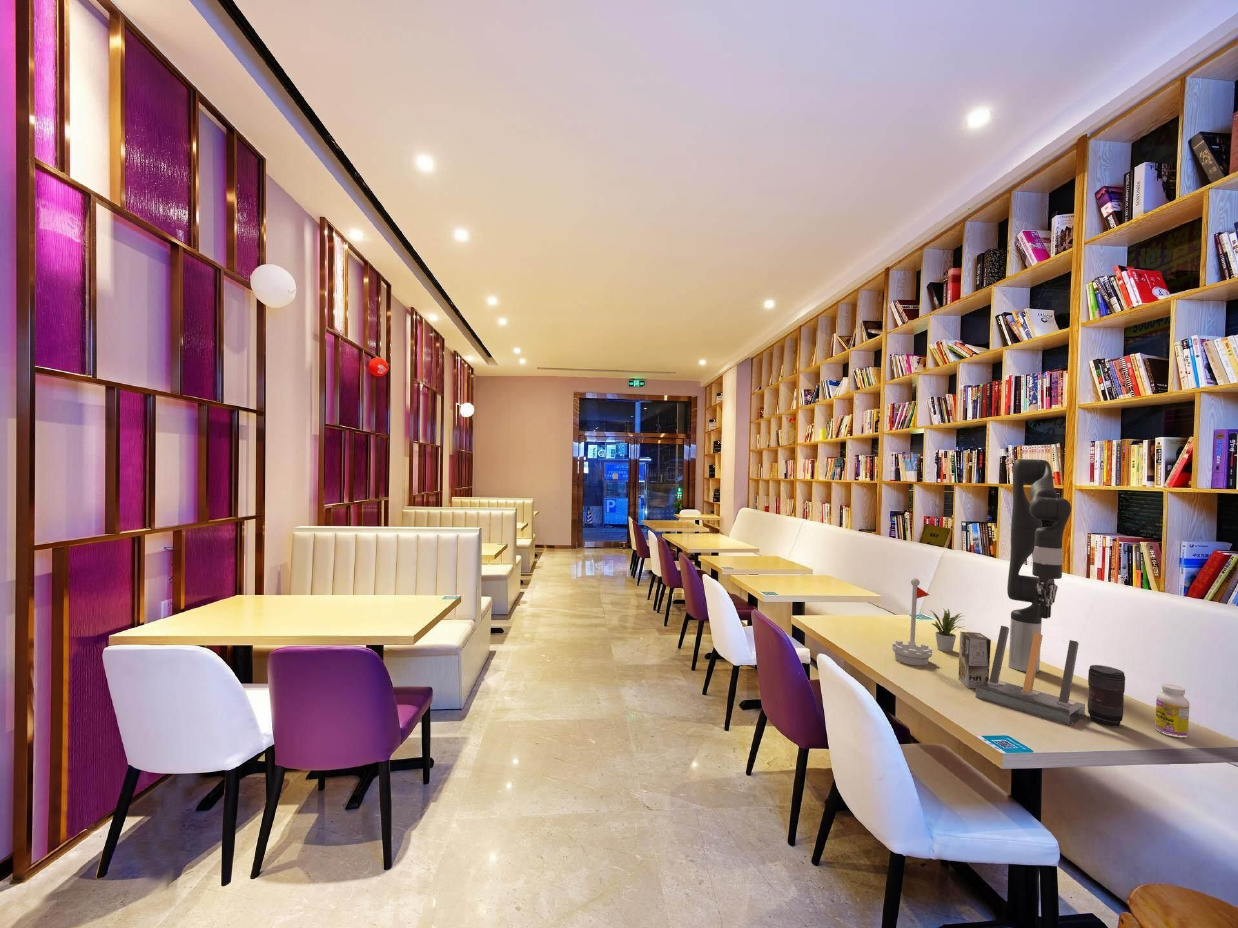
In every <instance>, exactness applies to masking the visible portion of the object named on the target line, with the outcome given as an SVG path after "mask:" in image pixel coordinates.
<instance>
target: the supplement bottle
mask: <svg viewBox="0 0 1238 928" xmlns="http://www.w3.org/2000/svg"><path fill="white" fill-rule="evenodd" d="M1161 690H1162V692H1159V693H1157V695H1156V700H1155V702H1156V703H1155V705H1156V706H1155V720H1154V721H1155V722H1154V729H1155V731H1157V730H1159V731H1160V732H1164V733H1166V734H1172V735H1177V736H1187V737H1188V736H1189V721H1190V720H1189V719H1190V717H1189V716H1190V701H1189V700H1188V699H1187V698H1186V697H1184V696H1185V694H1186V689H1185V688H1184V687H1183V686H1180V685H1176V684H1171V683H1163V684H1162V685H1161ZM1160 732H1159V733H1160Z"/></svg>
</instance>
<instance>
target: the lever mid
mask: <svg viewBox="0 0 1238 928" xmlns="http://www.w3.org/2000/svg"><path fill="white" fill-rule="evenodd" d="M1043 637H1044V636H1043V634H1042V633H1041V634H1039V633H1034V636H1033V641H1032V646H1031V651H1030V656H1029V661H1028V666H1027V671H1026V672H1025V677H1024V683H1023V686H1022V687H1023V690H1021V694H1022V695H1025V696H1029V697H1033V693H1032V690H1034V689H1033V687H1034V684H1035V678H1036V674H1037V672H1036V668H1037V663H1038V658H1039V652H1040V653H1041V647H1042V643H1043V642H1042V641H1043Z"/></svg>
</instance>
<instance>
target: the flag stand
mask: <svg viewBox="0 0 1238 928" xmlns="http://www.w3.org/2000/svg"><path fill="white" fill-rule="evenodd" d="M910 583H911V585H912V591H911V593H912V597H911V616H910V618H911V619H910V635H909V637H910V638H909V640H908V641H907V643H904V641H903V640H895V642H894V641H892V643H891V645H892V647H891V648H892V649H891V650H892V651H893V652H894V658H895V660H897V661H898V662H900V663H904V664H907V665H913V666H926V665H929V660H930V659H929V658H931V657H933V656H932V655H933V647H929V645H927V644H924V643H921V644H920V645H917V643H916V622H917V621H916V619H917V603H918V602H917V600H918V599H920V598H924V597H928V596H930V594H929V593H928V592H926V591H925V590H923V589H921V588H920V587H919V585H920V584H921V583H920V580H919V578H915V577H914V578H913V577H912V579H910Z"/></svg>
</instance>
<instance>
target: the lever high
mask: <svg viewBox="0 0 1238 928" xmlns="http://www.w3.org/2000/svg"><path fill="white" fill-rule="evenodd" d="M1078 649H1079V642H1078V641H1077V640H1072V639H1069V643H1068V647H1067V654H1066V657H1065V664H1064V665H1065V666H1064V670H1063V675H1062V681H1061V682H1062V683H1061V687H1060V692H1059V696H1058V697H1059V700H1057V705H1061V706H1064V707H1068V708H1069V707H1070V703H1068V702H1069V700H1070V697H1071V691H1072V690H1071V689H1072V686H1073V685H1072V684H1073V678H1074V672H1075V666H1076V661H1077V654H1078Z"/></svg>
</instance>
